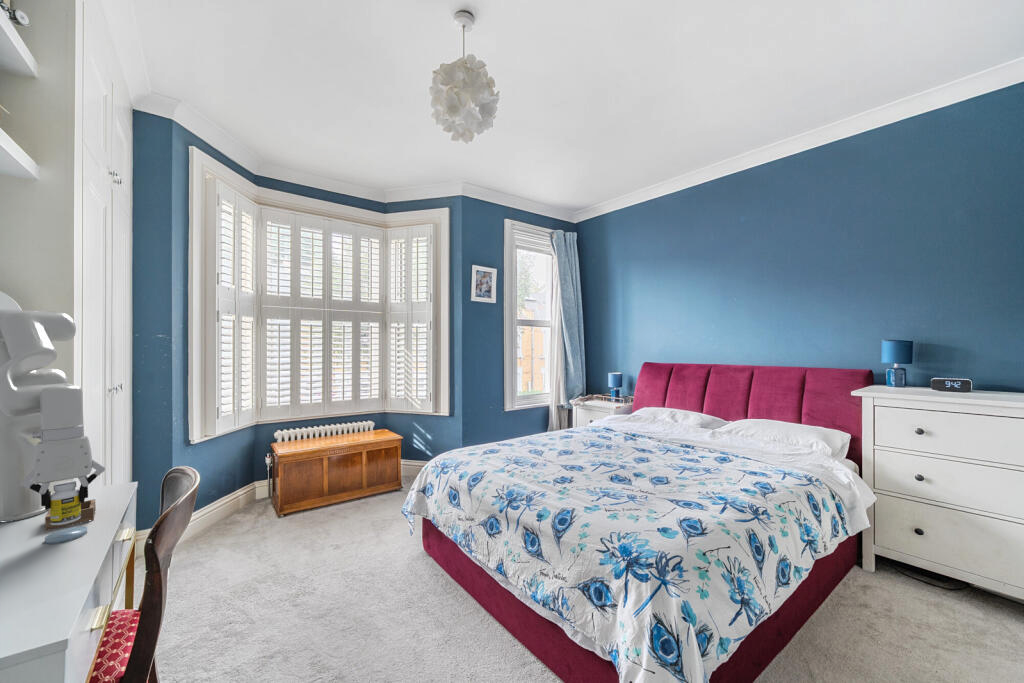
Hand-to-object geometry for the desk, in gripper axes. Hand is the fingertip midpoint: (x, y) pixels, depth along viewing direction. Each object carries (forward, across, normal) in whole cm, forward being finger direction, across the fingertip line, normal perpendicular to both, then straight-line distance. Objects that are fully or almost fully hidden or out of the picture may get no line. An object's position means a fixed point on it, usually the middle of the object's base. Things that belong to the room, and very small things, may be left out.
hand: (65, 503), depth 109 cm
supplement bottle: (+5, 0, 0) cm, 5 cm away
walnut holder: (+8, 0, +14) cm, 16 cm away
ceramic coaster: (+8, 0, 0) cm, 8 cm away
